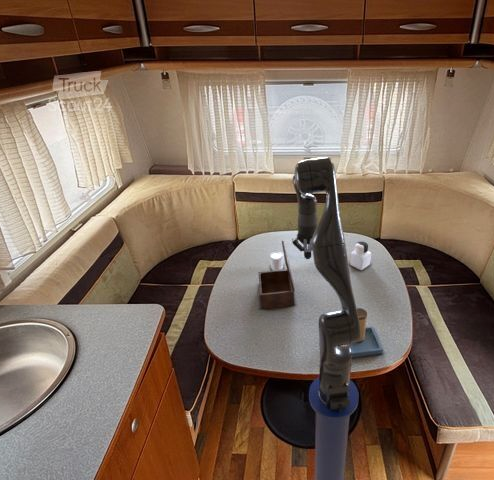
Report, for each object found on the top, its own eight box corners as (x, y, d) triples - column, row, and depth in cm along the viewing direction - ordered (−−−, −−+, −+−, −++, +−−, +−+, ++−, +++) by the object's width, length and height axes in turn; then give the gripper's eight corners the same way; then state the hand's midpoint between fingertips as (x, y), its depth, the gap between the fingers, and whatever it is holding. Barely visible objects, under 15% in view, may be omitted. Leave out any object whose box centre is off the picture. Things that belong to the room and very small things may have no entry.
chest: (261, 308, 147) (259, 295, 143) (259, 285, 160) (258, 271, 157) (294, 305, 149) (293, 291, 145) (290, 282, 162) (289, 268, 158)
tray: (382, 353, 127) (382, 349, 126) (339, 359, 125) (339, 355, 124) (372, 329, 137) (372, 325, 136) (332, 334, 135) (332, 330, 134)
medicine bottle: (358, 258, 177) (360, 238, 171) (370, 264, 173) (372, 243, 167) (349, 264, 173) (351, 243, 167) (361, 270, 169) (363, 249, 162)
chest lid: (285, 262, 137) (287, 262, 137) (281, 241, 150) (283, 240, 150) (292, 291, 145) (294, 290, 145) (288, 268, 158) (290, 267, 158)
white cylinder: (281, 262, 176) (280, 250, 172) (286, 269, 170) (285, 257, 167) (267, 265, 173) (267, 253, 169) (273, 273, 168) (272, 261, 164)
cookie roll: (359, 345, 129) (362, 320, 123) (347, 338, 132) (349, 313, 126) (367, 337, 133) (370, 312, 126) (355, 330, 136) (358, 306, 129)
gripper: (322, 215, 142) (321, 251, 151) (289, 218, 140) (290, 254, 149) (326, 224, 135) (325, 261, 145) (291, 227, 134) (292, 264, 143)
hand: (307, 258), depth 147 cm, fingers closed
